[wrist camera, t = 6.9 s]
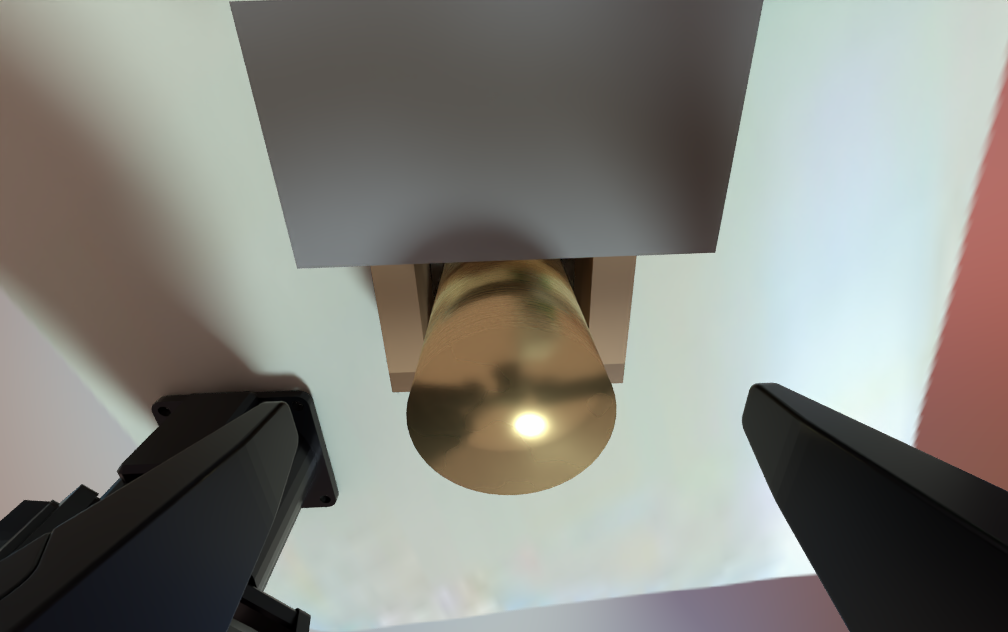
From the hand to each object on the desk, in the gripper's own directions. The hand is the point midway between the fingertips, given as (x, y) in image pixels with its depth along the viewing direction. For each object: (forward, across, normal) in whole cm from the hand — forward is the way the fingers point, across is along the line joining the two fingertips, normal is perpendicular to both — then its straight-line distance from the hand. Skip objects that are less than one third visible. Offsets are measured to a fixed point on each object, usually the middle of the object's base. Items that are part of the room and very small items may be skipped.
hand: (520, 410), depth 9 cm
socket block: (+9, 0, -2) cm, 9 cm away
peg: (+9, 0, 0) cm, 9 cm away
